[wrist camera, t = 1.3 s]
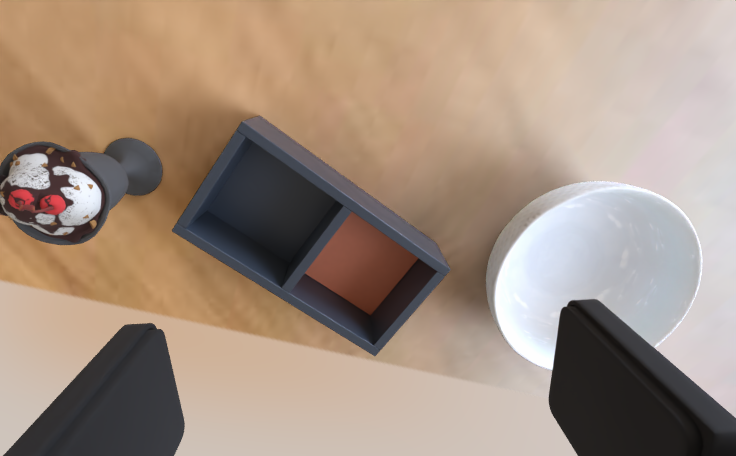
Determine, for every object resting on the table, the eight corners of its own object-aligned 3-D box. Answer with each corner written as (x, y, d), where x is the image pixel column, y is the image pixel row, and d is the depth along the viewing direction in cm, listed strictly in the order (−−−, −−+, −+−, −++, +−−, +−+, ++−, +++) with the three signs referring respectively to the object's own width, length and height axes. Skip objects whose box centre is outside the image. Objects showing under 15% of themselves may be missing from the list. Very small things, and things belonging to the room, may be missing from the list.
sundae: (188, 162, 36) (81, 211, 21) (146, 219, 37) (19, 300, 23) (119, 109, 34) (-45, 125, 20) (78, 171, 36) (-103, 226, 21)
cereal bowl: (615, 135, 36) (675, 145, 30) (664, 284, 41) (725, 321, 35) (441, 224, 38) (461, 253, 32) (508, 356, 43) (537, 405, 37)
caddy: (371, 319, 41) (375, 356, 36) (198, 209, 37) (171, 231, 31) (436, 243, 39) (451, 269, 33) (259, 115, 35) (242, 120, 29)
